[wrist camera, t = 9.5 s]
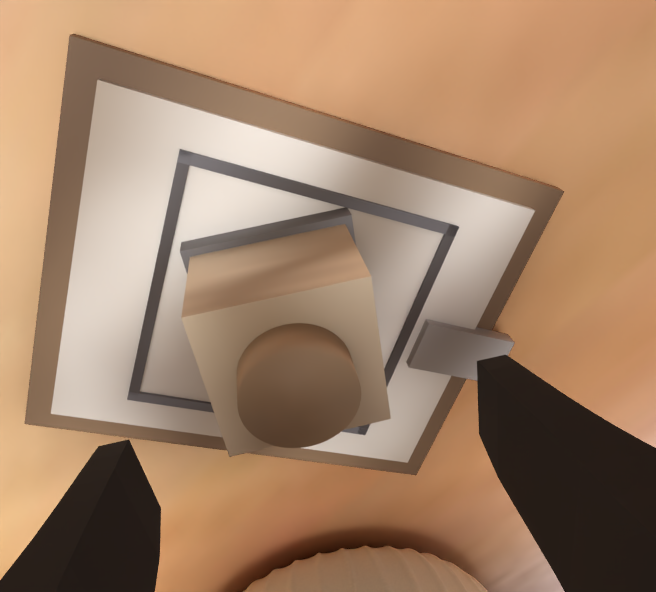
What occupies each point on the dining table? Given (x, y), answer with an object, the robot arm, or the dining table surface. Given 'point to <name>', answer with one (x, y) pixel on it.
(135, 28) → the dining table surface
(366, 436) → the clipboard
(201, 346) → the stamp
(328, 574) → the canister
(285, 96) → the dining table surface
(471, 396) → the dining table surface
